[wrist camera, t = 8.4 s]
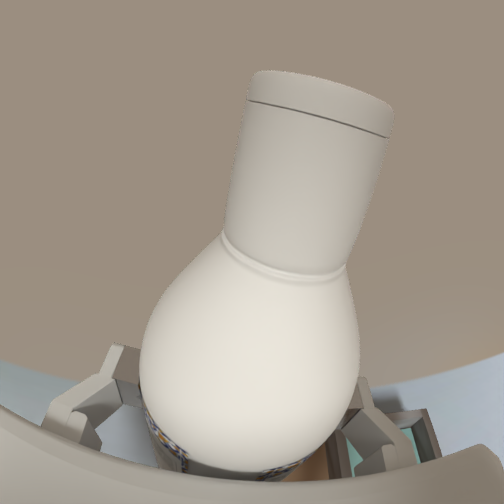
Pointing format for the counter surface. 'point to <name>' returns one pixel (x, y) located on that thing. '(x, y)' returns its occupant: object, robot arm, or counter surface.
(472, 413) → the counter surface
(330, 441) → the tray
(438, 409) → the counter surface
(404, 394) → the counter surface
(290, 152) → the bath foam
